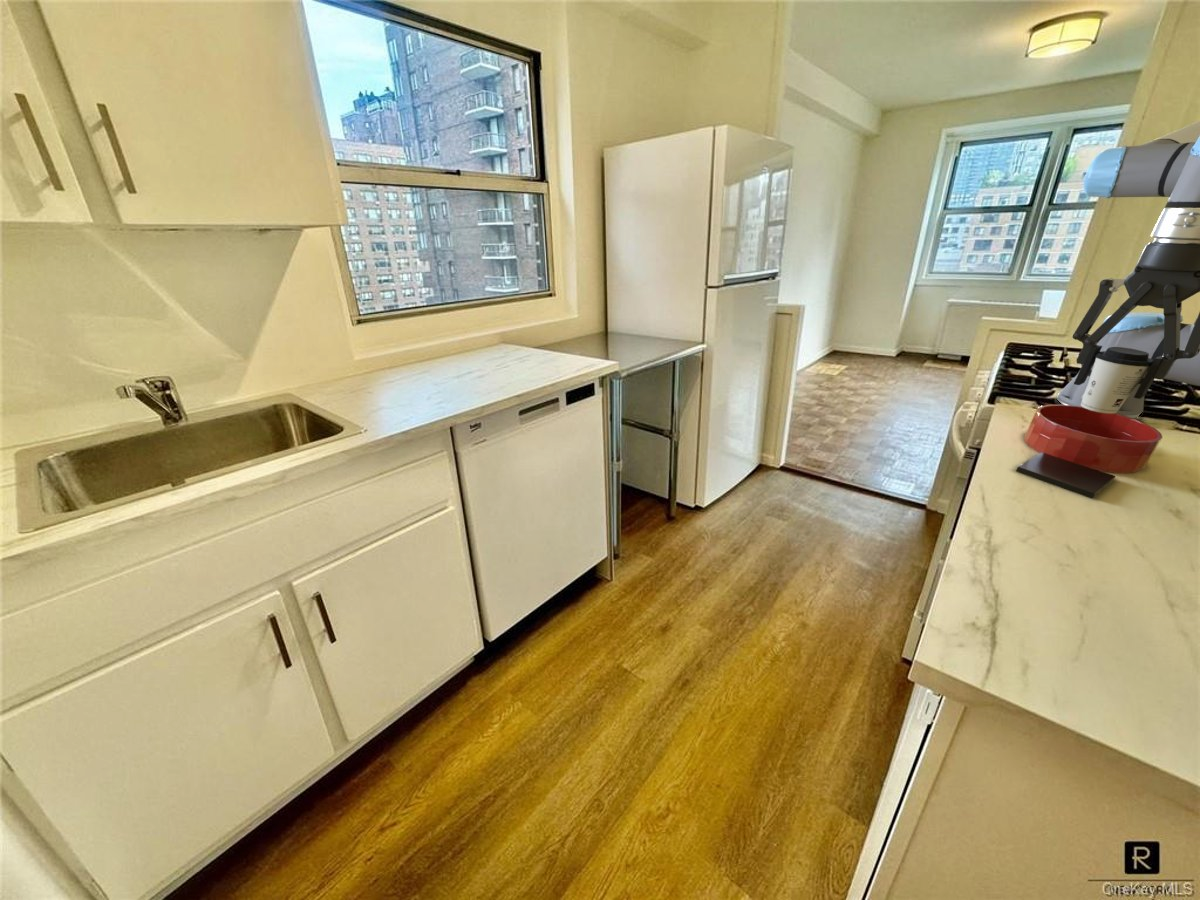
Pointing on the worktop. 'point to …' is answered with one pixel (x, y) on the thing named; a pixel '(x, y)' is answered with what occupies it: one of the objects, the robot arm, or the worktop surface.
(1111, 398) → the coffee cup
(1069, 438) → the bowl
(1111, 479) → the plate
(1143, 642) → the worktop surface
